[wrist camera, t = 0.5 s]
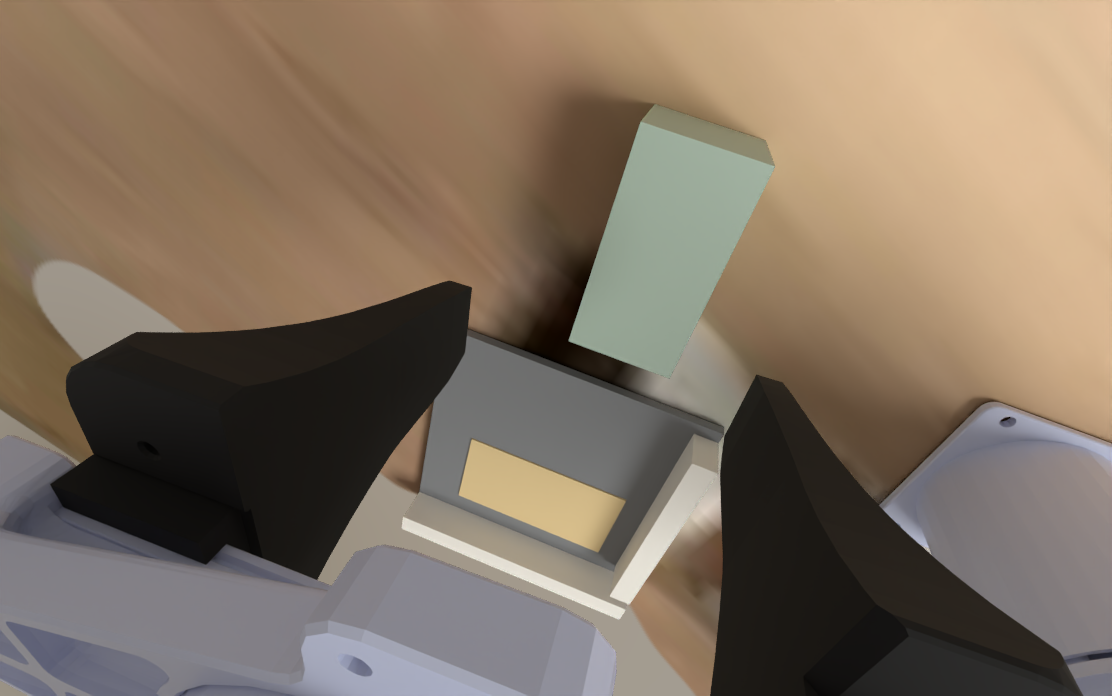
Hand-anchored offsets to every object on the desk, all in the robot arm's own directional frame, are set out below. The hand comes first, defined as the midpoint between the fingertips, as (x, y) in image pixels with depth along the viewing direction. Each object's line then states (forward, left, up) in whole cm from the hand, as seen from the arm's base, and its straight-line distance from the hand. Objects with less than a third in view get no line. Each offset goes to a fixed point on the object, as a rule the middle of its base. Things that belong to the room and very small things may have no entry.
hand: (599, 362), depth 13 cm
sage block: (-1, -1, -10) cm, 10 cm away
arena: (0, +14, -9) cm, 17 cm away
